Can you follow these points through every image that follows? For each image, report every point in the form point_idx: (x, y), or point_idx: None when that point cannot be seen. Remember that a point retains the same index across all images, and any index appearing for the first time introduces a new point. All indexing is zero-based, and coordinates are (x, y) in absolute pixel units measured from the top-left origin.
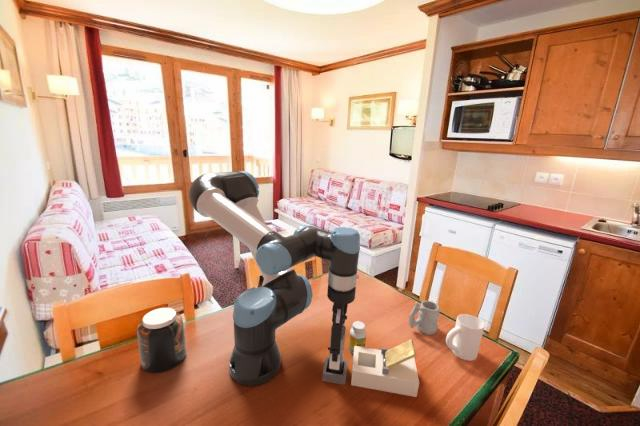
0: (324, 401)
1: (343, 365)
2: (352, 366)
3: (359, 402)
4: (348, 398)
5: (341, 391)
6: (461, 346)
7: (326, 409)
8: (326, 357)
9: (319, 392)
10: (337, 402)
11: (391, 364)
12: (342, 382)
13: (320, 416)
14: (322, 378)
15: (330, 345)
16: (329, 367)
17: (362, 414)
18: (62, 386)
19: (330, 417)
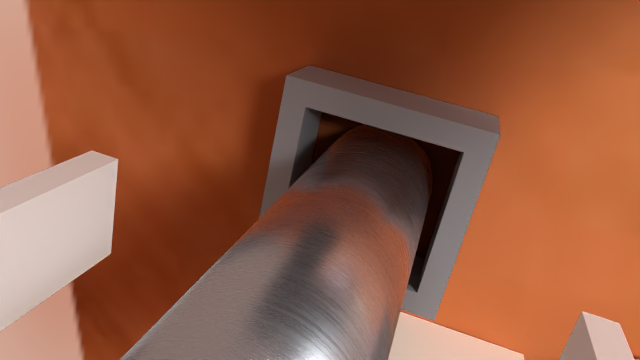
0: (147, 65)
1: (422, 266)
2: (438, 325)
3: (161, 280)
4: (180, 225)
5: (226, 193)
6: None
7: (97, 72)
8: (486, 137)
9: (209, 34)
10: (148, 151)
11: None
12: None
13: (51, 28)
14: (302, 69)
15: (261, 250)
16: (83, 158)
17: (96, 273)
18: None
19: (55, 91)
